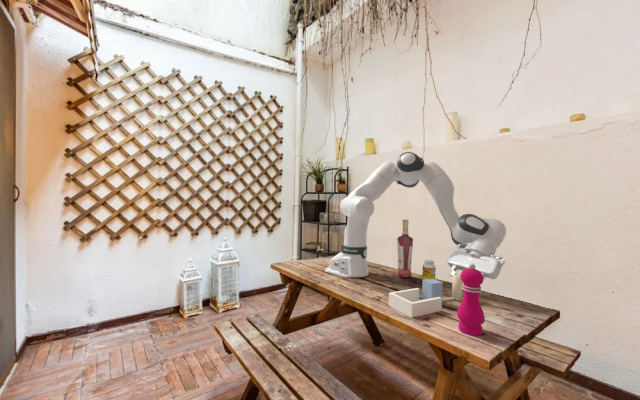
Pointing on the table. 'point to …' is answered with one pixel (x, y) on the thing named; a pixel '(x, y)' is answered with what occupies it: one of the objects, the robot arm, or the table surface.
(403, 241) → the liquor
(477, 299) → the pepper mill
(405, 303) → the white u-shaped wall
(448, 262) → the robot arm
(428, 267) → the supplement bottle
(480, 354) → the table surface
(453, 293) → the block
